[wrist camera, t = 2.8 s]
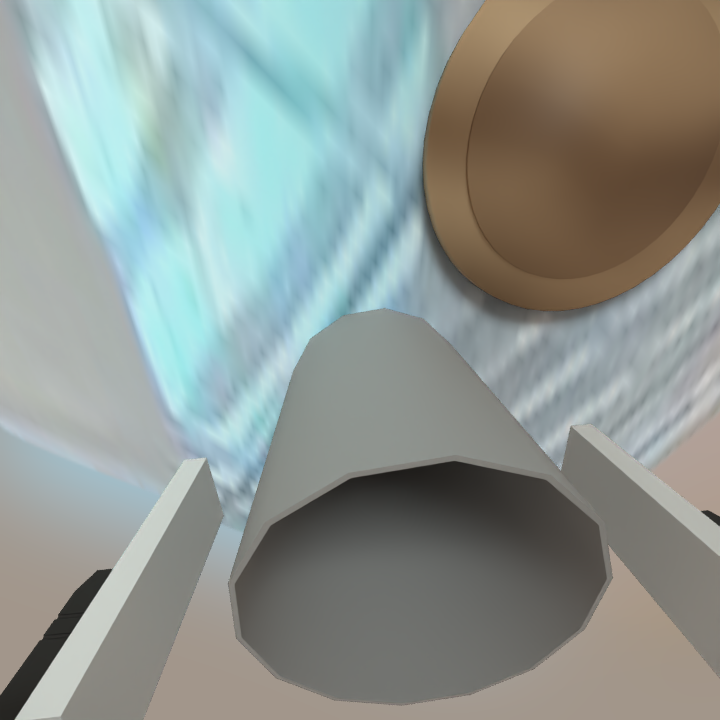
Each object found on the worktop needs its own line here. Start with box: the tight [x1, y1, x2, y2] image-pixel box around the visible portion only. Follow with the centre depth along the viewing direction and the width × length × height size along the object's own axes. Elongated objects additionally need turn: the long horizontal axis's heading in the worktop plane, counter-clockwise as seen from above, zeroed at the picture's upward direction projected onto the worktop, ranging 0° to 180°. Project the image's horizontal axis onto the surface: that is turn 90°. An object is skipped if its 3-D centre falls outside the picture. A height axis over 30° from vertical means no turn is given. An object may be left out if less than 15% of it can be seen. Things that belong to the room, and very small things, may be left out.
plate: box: [423, 0, 720, 311], centre depth 12 cm, size 12×12×1 cm
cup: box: [228, 308, 613, 705], centre depth 12 cm, size 8×8×10 cm
